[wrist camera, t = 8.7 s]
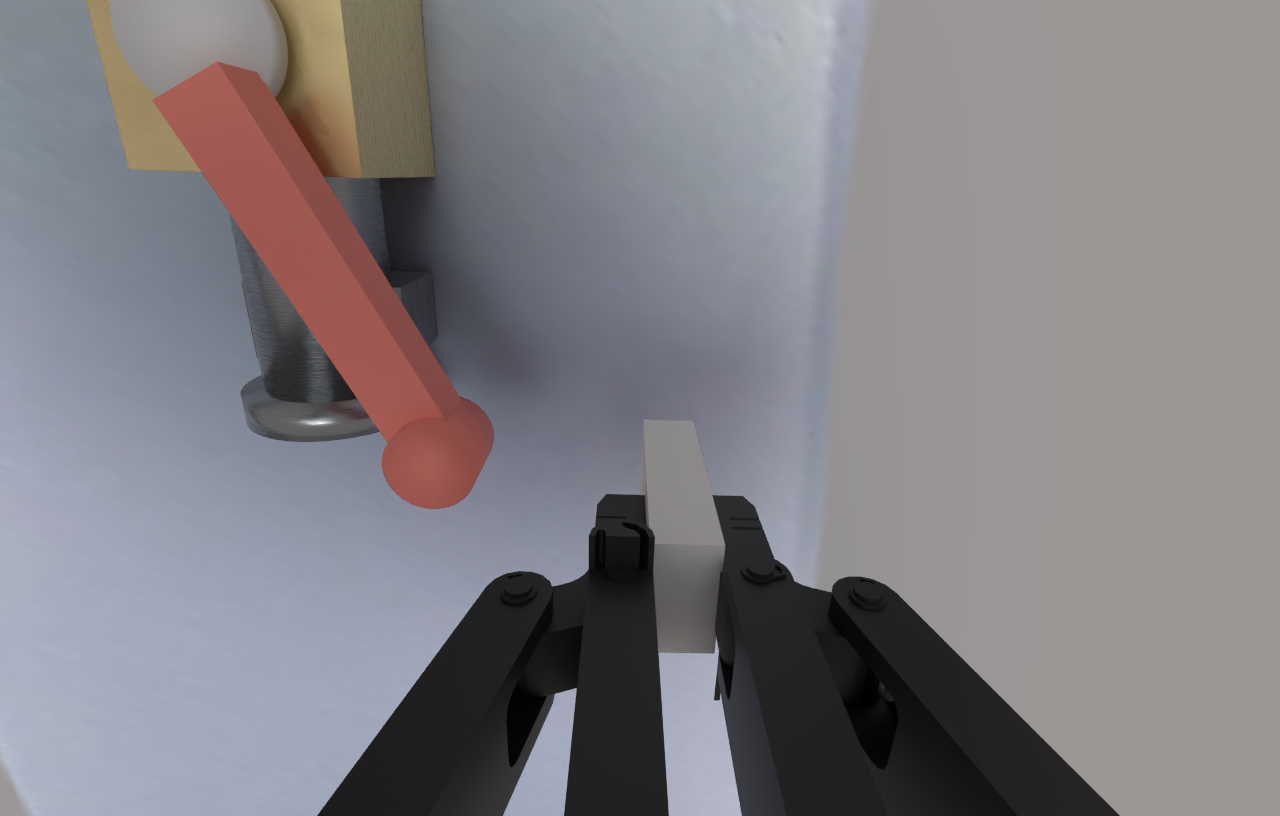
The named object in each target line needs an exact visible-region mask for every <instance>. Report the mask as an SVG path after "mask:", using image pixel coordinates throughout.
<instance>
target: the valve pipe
mask: <svg viewBox="0 0 1280 816" xmlns="http://www.w3.org/2000/svg"><path fill="white" fill-rule="evenodd" d="M270 1H271V2H272V4H273V5H274V7H275V9H276V11H277V13H278V15H279V17H280V20H281V22H282V25H283V28H284V32H285V35H286V41H287V47H288V66H287V72H286V77H285V80H284V83H283V86H282V88H281V90H280V92H279V93H278V95H277V96H276V98H275V99H276V101H277V102H278V104H279V106H280V107H281V109H282V110H283V112H284V114H285V115H286V117H287V118H288V120H289V122H290V123H291V125H292V127H293V128H294V130H295V131H296V133H297V135H298V136H299V138H300V140H301V141H302V143H303V144H304V146H305V148H306V149H307V151H308V152H309V154H310V156H311V157H312V159H313V161H314V162H315V164H316V165H317V167H318V169H319V170H320V172H321V173H322V175H323V177H324V178H325V180H326V182H327V183H328V185H329V186H330V188H331V190H332V191H333V193H334V195H335V196H336V198H337V199H338V201H339V203H340V204H341V206H342V207H343V209H344V211H345V212H346V214H347V216H348V217H349V219H350V220H351V222H352V224H353V225H354V227H355V228H356V230H357V232H358V233H359V235H360V237H361V238H362V240H363V241H364V243H365V245H366V246H367V248H368V250H369V251H370V253H371V254H372V256H373V258H374V259H375V261H376V262H377V264H378V266H379V267H380V269H381V271H382V272H383V274H384V275H385V277H386V279H387V280H388V282H389V283H390V285H391V287H392V288H393V290H394V292H395V293H396V295H397V296H398V298H399V300H400V301H401V303H402V305H403V306H404V308H405V309H406V311H407V313H408V314H409V316H410V317H411V319H412V321H413V322H414V324H415V326H416V327H417V329H418V330H419V332H420V334H421V335H422V337H423V338H424V340H425V342H426V343H427V345H429V344H430V343H431V342H432V341H434V340H435V339H436V338H437V337H438V336H437V325H436V314H435V302H434V291H433V280H432V272H420V271H391V270H390V268H389V259H388V251H387V242H386V233H385V224H384V215H383V207H382V198H381V189H380V180H379V178H399V177H435V168H434V156H433V144H432V132H431V119H430V107H429V95H428V83H427V71H426V58H425V46H424V34H423V22H422V10H421V0H270ZM86 3H87V7H88V11H89V15H90V19H91V23H92V27H93V31H94V34H95V38H96V42H97V46H98V50H99V54H100V58H101V62H102V66H103V70H104V74H105V78H106V82H107V85H108V89H109V93H110V97H111V101H112V105H113V109H114V113H115V117H116V121H117V125H118V129H119V133H120V136H121V140H122V144H123V148H124V152H125V156H126V160H127V164H128V168H129V169H135V170H161V171H187V172H201V170H200V169H199V168H198V166H197V165H196V163H195V162H194V160H193V159H192V157H191V156H190V154H189V153H188V152H187V150H186V149H185V147H184V146H183V144H182V143H181V141H180V140H179V138H178V137H177V136H176V134H175V133H174V131H173V130H172V128H171V127H170V125H169V124H168V122H167V121H166V120H165V118H164V117H163V115H162V114H161V112H160V111H159V109H158V108H157V106H156V105H155V103H154V102H153V101H152V100H153V99H154V98H156V97H158V96H156V95H155V94H154V93H153V92H152V91H150V90H149V89H148V88H147V87H146V86H145V85H144V84H143V83H142V82H141V81H140V79H139V78H138V77H137V76H136V75H135V73H134V72H133V71H132V69H131V68H130V66H129V65H128V63H127V62H126V60H125V58H124V57H123V54H122V52H121V50H120V48H119V46H118V44H117V41H116V38H115V35H114V32H113V28H112V24H111V17H110V0H86ZM229 215H230V220H231V225H232V230H233V235H234V240H235V245H236V250H237V255H238V260H239V265H240V269H241V274H242V279H243V282H242V286H243V291H244V296H245V301H246V306H247V311H248V316H249V320H250V325H251V330H252V335H253V340H254V345H255V350H256V355H257V358H259V363H260V368H261V373H262V375H261V376H259V377H257V378H255V379H253V380H251V381H250V382H248V383H247V384H246V385H245V386H244V387H243V388H242V390H241V397H242V402H243V406H244V411H245V415H246V420H247V424H248V427H249V428H250V430H252V431H253V432H254V433H256V434H259V435H261V436H264V437H267V438H271V439H276V440H283V441H295V442H317V441H331V440H340V439H347V438H353V437H359V436H364V435H368V434H372V433H376V432H379V429H378V428H377V427H376V425H375V424H374V422H373V421H372V419H371V418H370V416H369V415H368V413H367V412H366V411H365V409H364V408H363V406H362V405H361V403H360V402H359V400H358V399H357V397H356V396H355V395H354V393H353V392H352V390H351V389H350V387H349V386H348V384H347V383H346V381H345V380H344V379H343V377H342V376H341V374H340V373H339V371H338V370H337V368H336V367H335V365H334V364H333V363H332V361H331V360H330V358H329V357H328V355H327V354H326V352H325V351H324V349H323V348H322V347H321V345H320V344H319V342H318V341H317V339H316V338H315V336H314V335H313V333H312V332H311V331H310V329H309V328H308V326H307V325H306V323H305V322H304V320H303V319H302V317H301V316H300V315H299V313H298V312H297V310H296V309H295V307H294V306H293V304H292V303H291V301H290V300H289V299H288V297H287V296H286V294H285V293H284V291H283V290H282V288H281V287H280V285H279V284H278V283H277V281H276V280H275V278H274V277H273V275H272V274H271V272H270V271H269V269H268V268H267V266H266V265H265V264H264V262H263V261H262V259H261V258H260V256H259V255H258V253H257V252H256V250H255V249H254V248H253V246H252V245H251V243H250V242H249V240H248V239H247V237H246V236H245V234H244V233H243V232H242V230H241V229H240V227H239V226H238V224H237V223H236V221H235V220H234V218H233V217H232V216H231V214H230V213H229Z"/></svg>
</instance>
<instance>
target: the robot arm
mask: <svg viewBox="0 0 1280 816" xmlns="http://www.w3.org/2000/svg"><path fill="white" fill-rule="evenodd" d="M716 637H717V642H718V648H719V657H718V667H717V676H716V686H715V696H714V700H720V692H721V697H722V703H723V709H724V715H725V720H726V726H727V732H728V738H729V744H730V749H731V755H732V761H733V767H734V773H735V778H736V784H737V790H738V796H739V801H740V807H741V813H742V816H1119V814H1118V813H1116V812H1115V811H1114V809H1113V808H1111V806H1110V805H1109V804H1108V803H1107V802H1106V801H1105V800H1104V799H1102V798H1101V797H1100V796H1099V795H1098V794H1097V793H1096V792H1095V791H1094V790H1093V789H1092V788H1091V787H1090V786H1089V785H1088V784H1087V783H1086V782H1085V781H1084V780H1083V779H1082V778H1081V777H1080V776H1079V775H1078V774H1077V773H1076V772H1075V771H1074V770H1073V769H1072V768H1071V767H1070V766H1069V765H1068V764H1067V763H1066V762H1065V761H1064V760H1063V759H1062V758H1061V757H1060V756H1059V755H1058V754H1057V753H1056V752H1055V751H1054V750H1053V749H1052V748H1051V747H1050V746H1049V745H1048V744H1047V743H1046V742H1045V741H1044V740H1043V739H1042V738H1041V737H1040V736H1039V735H1038V734H1037V733H1036V732H1035V731H1034V730H1033V729H1032V728H1031V727H1030V726H1029V725H1028V724H1027V723H1026V722H1025V721H1024V720H1023V719H1022V718H1021V717H1020V716H1019V715H1018V714H1017V713H1016V712H1015V711H1014V710H1013V709H1012V708H1011V707H1010V706H1009V705H1008V704H1007V703H1006V702H1005V701H1004V700H1003V699H1002V698H1001V697H1000V696H999V695H998V694H997V693H996V692H995V691H994V690H993V689H992V688H991V687H990V686H989V685H988V684H987V683H986V682H985V681H984V680H983V679H982V678H981V677H980V676H979V675H978V674H977V673H976V672H975V671H974V670H973V669H972V668H971V667H970V666H969V665H968V664H967V663H966V662H965V661H964V660H963V659H962V658H961V657H960V656H959V655H958V654H957V653H956V652H955V651H954V650H953V649H952V648H951V647H950V646H949V645H948V644H947V643H946V642H945V641H944V640H943V639H942V638H941V637H940V636H939V635H938V634H937V633H936V632H935V631H934V630H933V629H932V628H931V627H930V626H929V625H928V624H927V623H926V622H925V621H924V620H923V619H922V618H921V617H920V616H919V615H918V614H917V613H916V612H915V611H914V610H913V609H912V608H911V607H910V606H909V605H908V604H907V603H906V602H905V601H904V600H903V599H902V598H901V597H900V596H899V595H898V594H897V593H895V592H894V591H893V590H892V589H890V588H889V587H888V586H886V585H884V584H882V583H880V582H877V581H875V580H873V579H869V578H864V577H846V578H843V579H839V580H838V581H837V582H836V583H835V584H834V585H833V588H832V593H831V592H827V591H823V590H818V589H814V588H810V587H807V586H804V585H801V584H799V583H797V582H794V579H793V577H792V574H791V573H790V571H789V570H788V569H787V567H786V566H784V565H783V564H782V563H780V562H779V561H777V560H775V559H774V557H773V554H772V551H771V549H770V546H769V543H768V541H767V538H766V536H765V533H764V530H763V528H762V525H761V522H760V521H759V517H758V514H757V512H756V509H755V507H754V506H753V505H752V504H751V503H750V502H749V501H748V500H747V499H745V498H744V497H743V496H716V495H712V492H711V488H710V484H709V481H708V477H707V473H706V469H705V465H704V461H703V457H702V454H701V450H700V446H699V442H698V438H697V434H696V430H695V427H694V423H693V421H687V420H652V419H643V438H642V462H641V486H640V495H618V494H606V495H605V496H604V498H603V499H602V500H601V501H600V502H599V503H598V504H597V514H596V524H595V527H594V528H593V529H592V530H591V533H590V535H589V570H588V571H587V572H586V573H585V574H584V575H583V576H582V577H580V578H579V579H577V580H575V581H572V582H570V583H566V584H563V585H558V586H553V587H552V586H551V583H550V581H549V580H547V579H546V578H545V577H544V576H543V575H540V574H537V573H533V572H523V571H518V572H513V573H507V574H505V575H502V576H500V577H498V578H496V579H494V580H493V581H492V582H491V583H490V584H489V585H488V586H487V587H486V588H485V589H484V591H483V592H482V593H481V595H480V596H479V598H478V599H477V600H476V602H475V603H474V604H473V606H472V607H471V608H470V610H469V611H468V612H467V614H466V615H465V617H464V618H463V619H462V621H461V622H460V623H459V625H458V626H457V627H456V629H455V630H454V631H453V633H452V634H451V635H450V637H449V638H448V640H447V641H446V642H445V644H444V645H443V646H442V648H441V649H440V650H439V652H438V653H437V654H436V656H435V657H434V658H433V660H432V661H431V663H430V664H429V665H428V667H427V668H426V669H425V671H424V672H423V673H422V675H421V676H420V677H419V679H418V680H417V681H416V683H415V684H414V686H413V687H412V688H411V690H410V691H409V692H408V694H407V695H406V696H405V698H404V699H403V700H402V702H401V703H400V704H399V706H398V707H397V709H396V710H395V711H394V713H393V714H392V715H391V717H390V718H389V719H388V721H387V722H386V723H385V725H384V726H383V727H382V729H381V730H380V732H379V733H378V734H377V736H376V737H375V738H374V740H373V741H372V742H371V744H370V745H369V746H368V748H367V749H366V750H365V752H364V753H363V755H362V756H361V757H360V759H359V760H358V761H357V763H356V764H355V765H354V767H353V768H352V769H351V771H350V772H349V773H348V775H347V776H346V778H345V779H344V780H343V782H342V783H341V784H340V786H339V787H338V788H337V790H336V791H335V792H334V794H333V795H332V797H331V798H330V799H329V801H328V802H327V803H326V805H325V806H324V807H323V809H322V810H321V811H320V813H319V814H318V815H317V816H503V814H504V812H505V809H506V807H507V805H508V803H509V800H510V798H511V796H512V794H513V791H514V789H515V787H516V785H517V782H518V780H519V778H520V776H521V773H522V771H523V769H524V767H525V764H526V762H527V760H528V758H529V755H530V753H531V751H532V749H533V746H534V744H535V742H536V740H537V737H538V735H539V733H540V731H541V729H542V726H543V724H544V722H545V720H546V717H547V715H548V713H549V711H550V708H551V706H552V704H553V700H554V695H555V693H559V692H563V691H567V690H570V689H574V688H577V692H576V702H575V712H574V722H573V732H572V742H571V752H570V762H569V772H568V782H567V792H566V802H565V812H564V816H669V812H668V796H667V781H666V765H665V749H664V733H663V718H662V702H661V686H660V670H659V655H658V652H662V653H714V651H715V641H716Z"/></svg>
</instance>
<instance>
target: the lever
mask: <svg viewBox="0 0 1280 816" xmlns="http://www.w3.org/2000/svg"><path fill="white" fill-rule="evenodd" d="M110 17H111V24H112V28H113V32H114V35H115V38H116V41H117V44H118V46H119V48H120V50H121V52H122V54H123V57H124V58H125V60H126V62H127V63H128V65H129V66H130V68H131V69H132V71H133V72H134V73H135V75H136V76H137V77H138V78H139V79H140V81H141V82H142V83H143V84H144V85H145V86H146V87H147V88H148V89H149V90H150V91H152V92H153V93H154V94H155V95H156V96H158V97H156V98H154V99H153V100H152V101H153V102H154V103H155V105H156V106H157V108H158V109H159V111H160V112H161V114H162V115H163V117H164V118H165V120H166V121H167V122H168V124H169V125H170V127H171V128H172V130H173V131H174V133H175V134H176V136H177V137H178V138H179V140H180V141H181V143H182V144H183V146H184V147H185V149H186V150H187V152H188V153H189V154H190V156H191V157H192V159H193V160H194V162H195V163H196V165H197V166H198V168H199V169H200V170H201V172H202V173H203V175H204V176H205V178H206V179H207V181H208V182H209V184H210V185H211V186H212V188H213V189H214V191H215V192H216V194H217V195H218V197H219V198H220V200H221V201H222V202H223V204H224V205H225V207H226V208H227V210H228V211H229V213H230V214H231V216H232V217H233V218H234V220H235V221H236V223H237V224H238V226H239V227H240V229H241V230H242V232H243V233H244V234H245V236H246V237H247V239H248V240H249V242H250V243H251V245H252V246H253V248H254V249H255V250H256V252H257V253H258V255H259V256H260V258H261V259H262V261H263V262H264V264H265V265H266V266H267V268H268V269H269V271H270V272H271V274H272V275H273V277H274V278H275V280H276V281H277V283H278V284H279V285H280V287H281V288H282V290H283V291H284V293H285V294H286V296H287V297H288V299H289V300H290V301H291V303H292V304H293V306H294V307H295V309H296V310H297V312H298V313H299V315H300V316H301V317H302V319H303V320H304V322H305V323H306V325H307V326H308V328H309V329H310V331H311V332H312V333H313V335H314V336H315V338H316V339H317V341H318V342H319V344H320V345H321V347H322V348H323V349H324V351H325V352H326V354H327V355H328V357H329V358H330V360H331V361H332V363H333V364H334V365H335V367H336V368H337V370H338V371H339V373H340V374H341V376H342V377H343V379H344V380H345V381H346V383H347V384H348V386H349V387H350V389H351V390H352V392H353V393H354V395H355V396H356V397H357V399H358V400H359V402H360V403H361V405H362V406H363V408H364V409H365V411H366V412H367V413H368V415H369V416H370V418H371V419H372V421H373V422H374V424H375V425H376V427H377V428H378V429H379V431H380V432H381V434H382V435H383V437H384V438H385V440H386V441H387V443H388V444H387V445H386V447H385V449H384V452H383V457H382V469H383V473H384V476H385V478H386V481H387V482H388V484H389V486H390V487H391V488H392V490H393V491H394V492H395V493H396V494H397V495H398V496H400V497H401V498H402V499H404V500H405V501H407V502H409V503H411V504H413V505H416V506H419V507H423V508H429V509H440V508H446V507H449V506H452V505H455V504H456V503H458V502H460V501H461V500H463V499H464V498H465V497H466V496H467V495H468V494H469V492H470V491H471V489H472V487H473V485H474V483H475V481H476V479H477V477H478V475H479V473H480V471H481V469H482V467H483V465H484V463H485V461H486V459H487V457H488V455H489V453H490V451H491V449H492V446H493V441H494V432H493V427H492V424H491V422H490V420H489V418H488V416H487V415H486V413H485V412H484V411H483V410H482V409H481V408H480V407H479V406H478V405H476V404H475V403H473V402H471V401H469V400H468V399H465V398H462V397H459V395H458V393H457V392H456V390H455V389H454V387H453V385H452V384H451V382H450V381H449V379H448V377H447V376H446V374H445V372H444V371H443V369H442V368H441V366H440V364H439V363H438V361H437V360H436V358H435V356H434V355H433V353H432V351H431V350H430V348H429V347H428V345H427V343H426V342H425V340H424V338H423V337H422V335H421V334H420V332H419V330H418V329H417V327H416V326H415V324H414V322H413V321H412V319H411V317H410V316H409V314H408V313H407V311H406V309H405V308H404V306H403V305H402V303H401V301H400V300H399V298H398V296H397V295H396V293H395V292H394V290H393V288H392V287H391V285H390V283H389V282H388V280H387V279H386V277H385V275H384V274H383V272H382V271H381V269H380V267H379V266H378V264H377V262H376V261H375V259H374V258H373V256H372V254H371V253H370V251H369V250H368V248H367V246H366V245H365V243H364V241H363V240H362V238H361V237H360V235H359V233H358V232H357V230H356V228H355V227H354V225H353V224H352V222H351V220H350V219H349V217H348V216H347V214H346V212H345V211H344V209H343V207H342V206H341V204H340V203H339V201H338V199H337V198H336V196H335V195H334V193H333V191H332V190H331V188H330V186H329V185H328V183H327V182H326V180H325V178H324V177H323V175H322V173H321V172H320V170H319V169H318V167H317V165H316V164H315V162H314V161H313V159H312V157H311V156H310V154H309V152H308V151H307V149H306V148H305V146H304V144H303V143H302V141H301V140H300V138H299V136H298V135H297V133H296V131H295V130H294V128H293V127H292V125H291V123H290V122H289V120H288V118H287V117H286V115H285V114H284V112H283V110H282V109H281V107H280V106H279V104H278V102H277V101H276V99H275V98H276V96H277V95H278V93H279V92H280V90H281V88H282V86H283V83H284V80H285V77H286V72H287V66H288V47H287V41H286V35H285V32H284V28H283V25H282V22H281V20H280V17H279V15H278V13H277V11H276V9H275V7H274V5H273V4H272V2H271V1H270V0H110Z"/></svg>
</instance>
